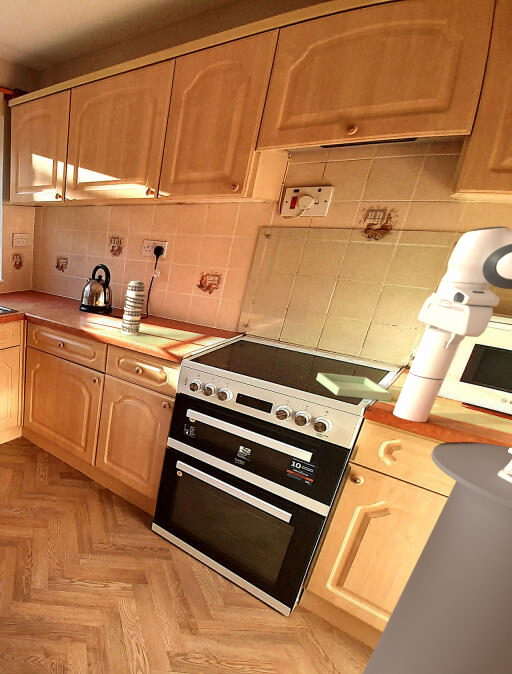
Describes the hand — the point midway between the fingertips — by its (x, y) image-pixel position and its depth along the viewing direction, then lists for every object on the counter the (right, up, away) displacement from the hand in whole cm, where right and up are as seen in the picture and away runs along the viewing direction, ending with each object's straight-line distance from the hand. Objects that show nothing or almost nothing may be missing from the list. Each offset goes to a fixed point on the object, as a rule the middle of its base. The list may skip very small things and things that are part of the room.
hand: (438, 345), depth 114 cm
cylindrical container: (-1, -20, +8) cm, 21 cm away
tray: (-1, -12, +27) cm, 30 cm away
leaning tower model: (-54, +15, +94) cm, 110 cm away
